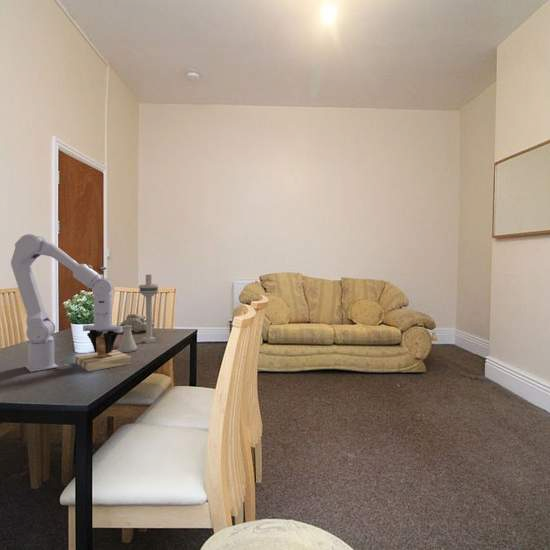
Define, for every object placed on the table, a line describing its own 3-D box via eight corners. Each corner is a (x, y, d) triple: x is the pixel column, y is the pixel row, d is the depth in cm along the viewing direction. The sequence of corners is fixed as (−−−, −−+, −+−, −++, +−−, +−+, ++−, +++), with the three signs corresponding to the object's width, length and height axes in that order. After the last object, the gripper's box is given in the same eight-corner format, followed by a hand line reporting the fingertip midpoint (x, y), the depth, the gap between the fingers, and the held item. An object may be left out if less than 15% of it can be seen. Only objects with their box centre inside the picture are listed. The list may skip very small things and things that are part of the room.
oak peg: (94, 363, 130) (93, 338, 129) (101, 360, 134) (100, 335, 133) (105, 364, 129) (104, 338, 129) (111, 361, 133) (110, 335, 133)
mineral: (149, 329, 186) (153, 310, 191) (114, 327, 186) (118, 308, 191) (155, 337, 197) (159, 319, 202) (122, 335, 197) (126, 317, 202)
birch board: (75, 363, 132) (75, 355, 132) (116, 356, 142) (116, 349, 142) (88, 371, 122) (88, 363, 122) (131, 363, 131) (131, 356, 131)
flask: (128, 353, 147) (128, 327, 147) (113, 351, 149) (113, 326, 149) (141, 349, 154) (140, 325, 153) (126, 348, 156) (126, 324, 156)
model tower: (162, 341, 169) (161, 274, 168) (144, 344, 163) (144, 275, 162) (153, 338, 175) (152, 274, 174) (135, 341, 169) (135, 274, 168)
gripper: (76, 314, 129) (76, 353, 129) (113, 315, 126) (114, 356, 126) (90, 311, 136) (91, 349, 136) (126, 312, 133) (126, 351, 133)
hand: (103, 352), depth 132 cm, fingers closed on oak peg, 4 cm apart
